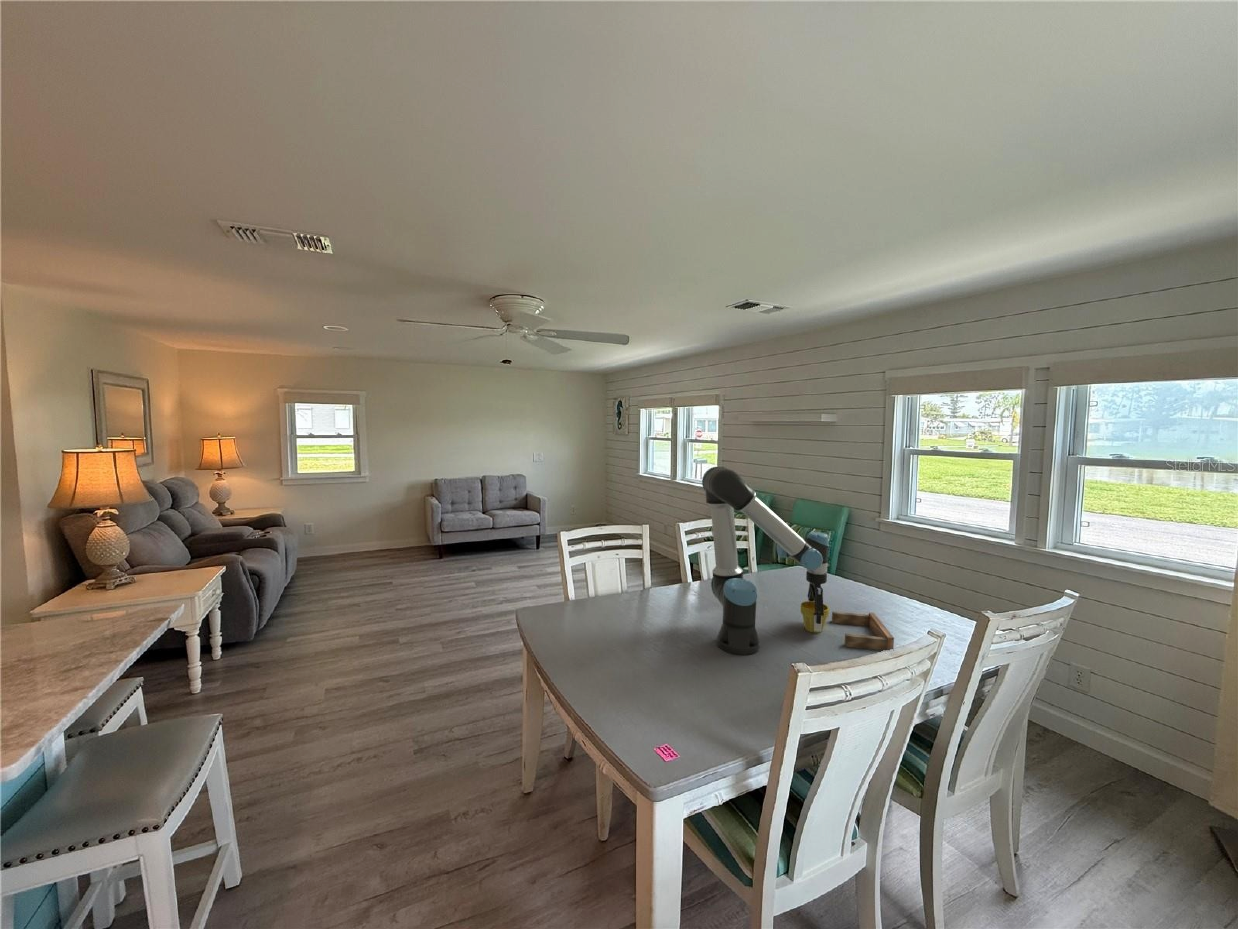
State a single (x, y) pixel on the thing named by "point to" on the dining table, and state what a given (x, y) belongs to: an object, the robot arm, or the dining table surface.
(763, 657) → the dining table surface
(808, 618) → the plant pot
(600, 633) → the dining table surface
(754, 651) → the robot arm
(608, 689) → the dining table surface
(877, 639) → the docking bay
